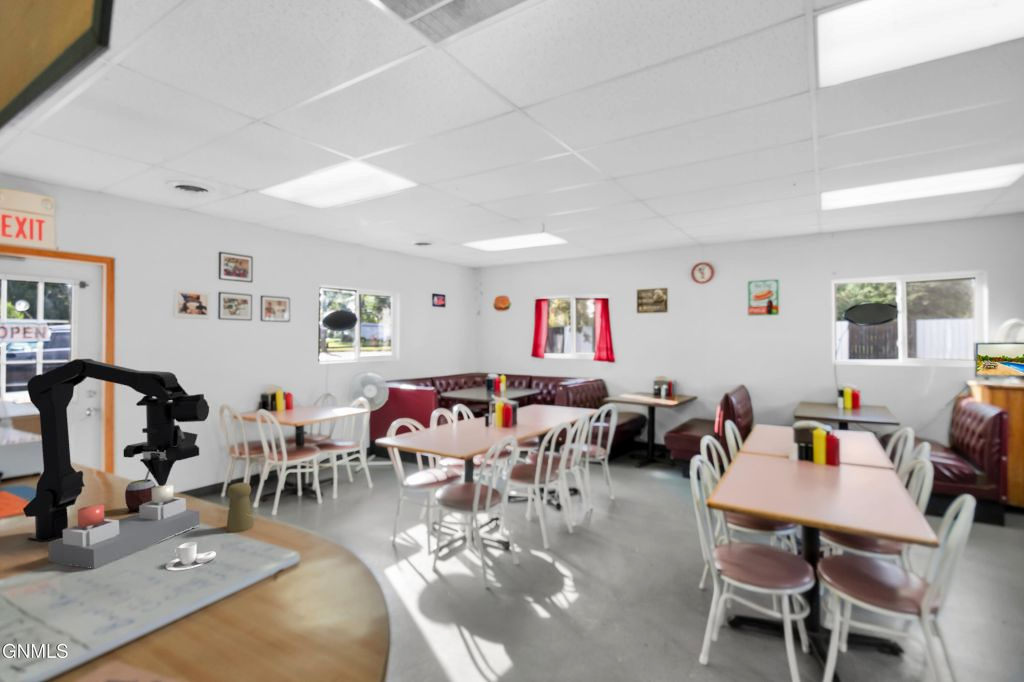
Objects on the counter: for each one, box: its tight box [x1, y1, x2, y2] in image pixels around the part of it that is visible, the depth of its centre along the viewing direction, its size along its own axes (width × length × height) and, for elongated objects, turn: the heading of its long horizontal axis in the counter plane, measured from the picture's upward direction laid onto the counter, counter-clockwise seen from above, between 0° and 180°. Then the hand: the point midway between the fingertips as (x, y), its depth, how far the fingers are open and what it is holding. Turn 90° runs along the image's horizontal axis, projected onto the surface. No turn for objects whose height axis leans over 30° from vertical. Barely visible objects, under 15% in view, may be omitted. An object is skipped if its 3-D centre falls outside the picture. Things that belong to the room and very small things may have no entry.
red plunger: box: [77, 504, 105, 527], centre depth 109 cm, size 4×4×3 cm
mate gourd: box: [124, 469, 157, 514], centre depth 140 cm, size 8×8×15 cm
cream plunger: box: [152, 484, 175, 503], centre depth 124 cm, size 4×4×3 cm
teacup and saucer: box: [165, 541, 217, 572], centre depth 105 cm, size 9×8×4 cm
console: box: [48, 496, 200, 569], centre depth 116 cm, size 14×24×7 cm, turn 162°
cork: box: [225, 482, 254, 533], centre depth 124 cm, size 6×6×11 cm
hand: (162, 485), depth 124 cm, fingers closed
